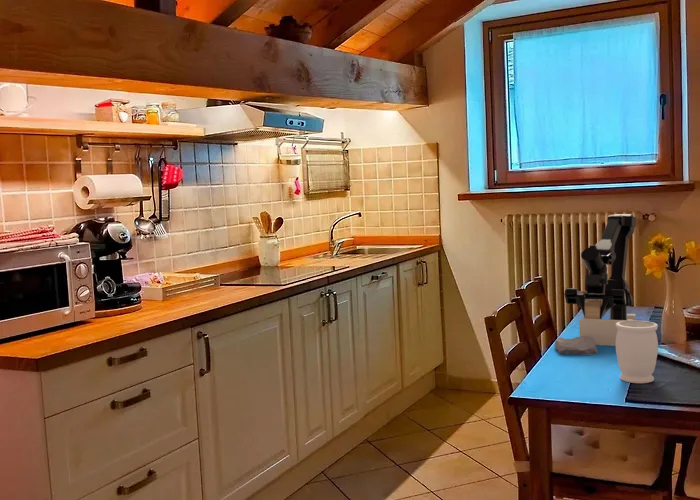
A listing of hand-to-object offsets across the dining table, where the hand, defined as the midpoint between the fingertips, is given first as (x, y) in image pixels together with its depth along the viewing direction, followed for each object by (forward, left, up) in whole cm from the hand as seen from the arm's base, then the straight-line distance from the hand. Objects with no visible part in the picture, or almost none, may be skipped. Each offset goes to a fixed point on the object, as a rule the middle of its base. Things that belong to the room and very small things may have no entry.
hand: (592, 318), depth 238 cm
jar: (+40, +17, -8) cm, 44 cm away
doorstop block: (-1, 0, -7) cm, 7 cm away
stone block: (+14, -3, -8) cm, 16 cm away
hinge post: (+3, +12, -8) cm, 15 cm away
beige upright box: (+3, +4, -8) cm, 9 cm away
